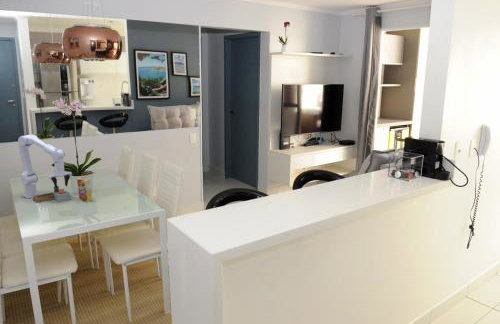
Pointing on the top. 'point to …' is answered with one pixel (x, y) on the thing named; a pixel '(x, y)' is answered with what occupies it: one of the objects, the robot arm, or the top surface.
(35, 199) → the rail
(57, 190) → the carriage
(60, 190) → the button
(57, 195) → the button housing
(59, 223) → the top surface
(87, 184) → the candy box
